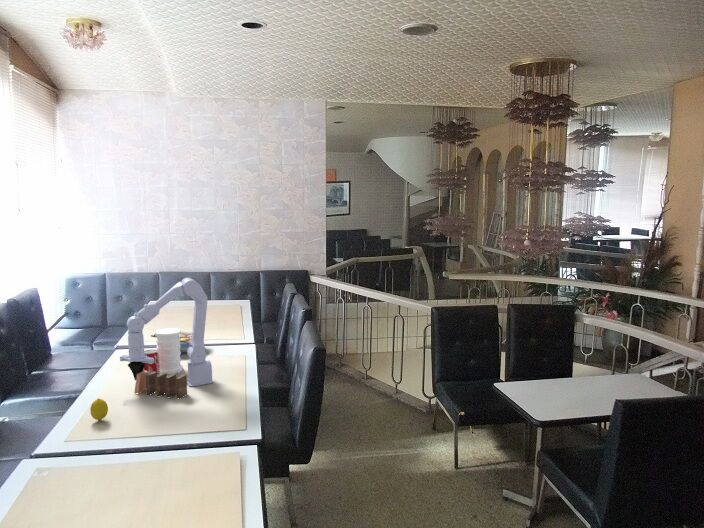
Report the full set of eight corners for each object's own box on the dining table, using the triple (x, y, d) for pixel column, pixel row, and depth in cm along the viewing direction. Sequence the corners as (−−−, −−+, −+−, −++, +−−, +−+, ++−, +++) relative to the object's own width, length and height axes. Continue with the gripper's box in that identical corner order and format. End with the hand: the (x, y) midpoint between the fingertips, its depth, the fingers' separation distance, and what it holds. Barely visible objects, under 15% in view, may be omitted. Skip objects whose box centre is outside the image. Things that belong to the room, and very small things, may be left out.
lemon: (91, 425, 185) (90, 402, 184) (90, 419, 190) (89, 397, 189) (109, 422, 188) (107, 399, 187) (108, 416, 193) (106, 394, 192)
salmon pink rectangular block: (134, 392, 215) (136, 374, 214) (142, 388, 220) (145, 370, 219) (137, 394, 215) (140, 375, 213) (145, 389, 220) (148, 371, 218)
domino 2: (156, 396, 212) (155, 376, 211) (164, 391, 217) (163, 372, 216) (159, 396, 212) (158, 376, 211) (167, 392, 217) (166, 372, 216)
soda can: (154, 381, 229) (153, 354, 227) (139, 380, 230) (137, 353, 229) (163, 376, 236) (162, 349, 234) (148, 375, 237) (147, 348, 236)
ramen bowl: (215, 349, 278) (214, 333, 277) (179, 360, 259) (178, 343, 258) (182, 342, 291) (181, 327, 290) (145, 352, 272) (144, 336, 271)
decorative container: (161, 376, 236) (160, 335, 234) (151, 369, 245) (149, 330, 243) (187, 370, 244) (185, 331, 242) (176, 364, 252) (175, 326, 250)
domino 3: (166, 397, 211) (165, 377, 210) (173, 392, 216) (173, 373, 215) (169, 397, 211) (169, 377, 210) (177, 393, 216) (176, 373, 215)
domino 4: (176, 398, 210) (175, 378, 209) (183, 394, 215) (182, 374, 214) (179, 398, 210) (179, 378, 209) (187, 394, 214) (186, 374, 213)
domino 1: (146, 395, 214) (145, 375, 213) (154, 390, 218) (153, 371, 217) (149, 395, 213) (148, 375, 212) (157, 391, 218) (156, 371, 217)
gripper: (113, 347, 214) (115, 381, 215) (145, 350, 210) (147, 384, 211) (125, 343, 220) (127, 375, 222) (156, 345, 216) (158, 378, 218)
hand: (137, 379), depth 217 cm, fingers closed
